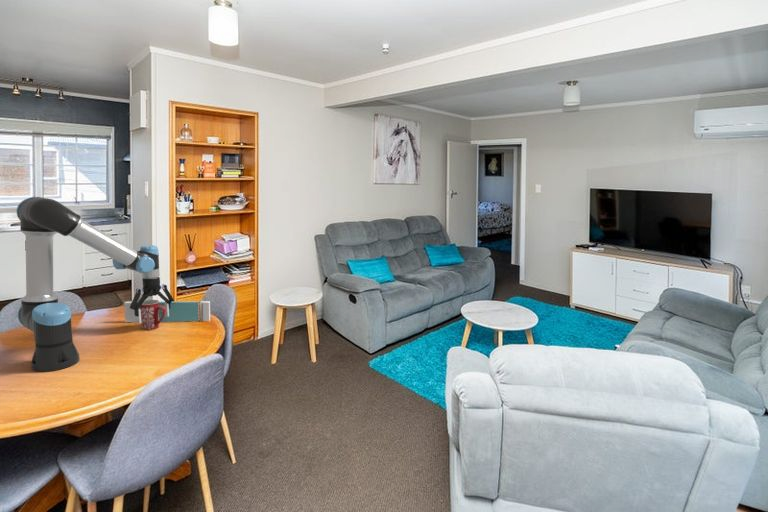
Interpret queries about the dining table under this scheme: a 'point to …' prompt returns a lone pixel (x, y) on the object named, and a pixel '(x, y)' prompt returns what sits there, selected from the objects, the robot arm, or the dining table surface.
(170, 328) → the dining table surface
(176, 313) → the door
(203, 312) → the wall frame
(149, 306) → the mug
